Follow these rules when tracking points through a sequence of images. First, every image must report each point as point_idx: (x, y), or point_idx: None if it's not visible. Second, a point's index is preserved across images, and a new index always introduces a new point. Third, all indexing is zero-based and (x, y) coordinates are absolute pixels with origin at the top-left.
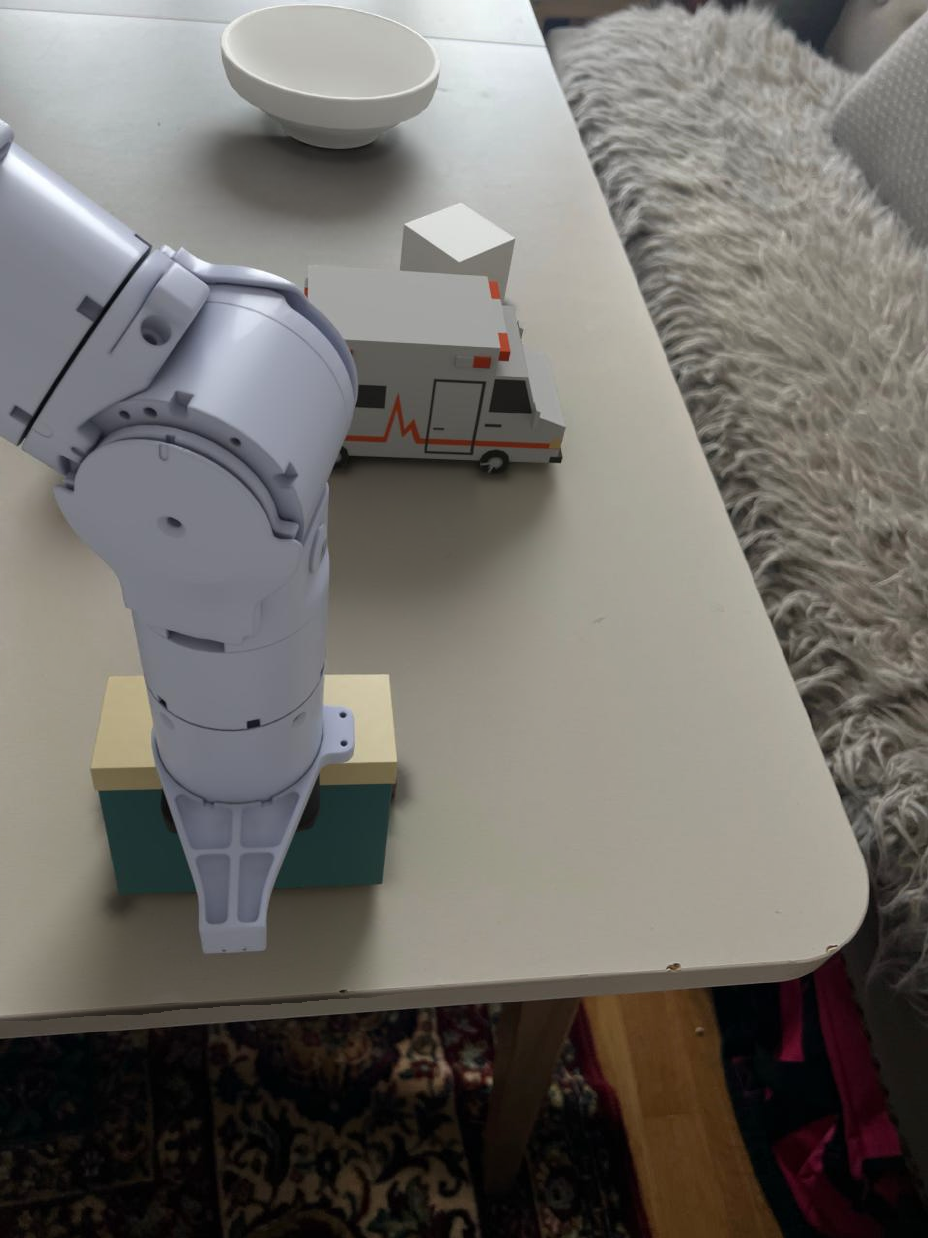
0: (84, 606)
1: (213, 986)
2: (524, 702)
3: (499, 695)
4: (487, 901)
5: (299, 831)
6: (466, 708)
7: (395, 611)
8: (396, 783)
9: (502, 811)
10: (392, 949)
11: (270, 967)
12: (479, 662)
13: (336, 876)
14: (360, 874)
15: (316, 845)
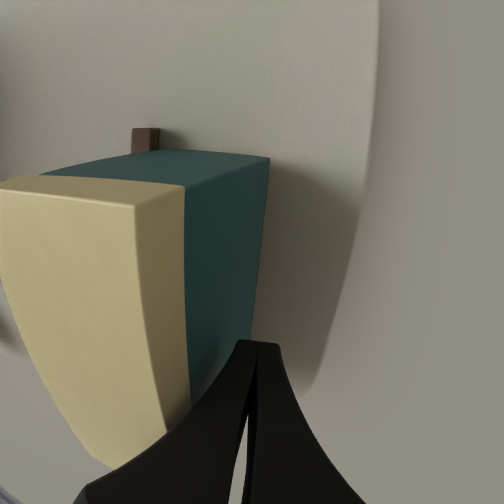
0: None
1: (329, 312)
2: (86, 9)
3: (75, 31)
4: (298, 49)
5: (359, 497)
6: (80, 58)
7: (5, 132)
8: (148, 128)
9: (194, 20)
10: (335, 156)
11: (326, 270)
12: (45, 53)
13: (260, 213)
14: (263, 186)
15: (240, 259)
